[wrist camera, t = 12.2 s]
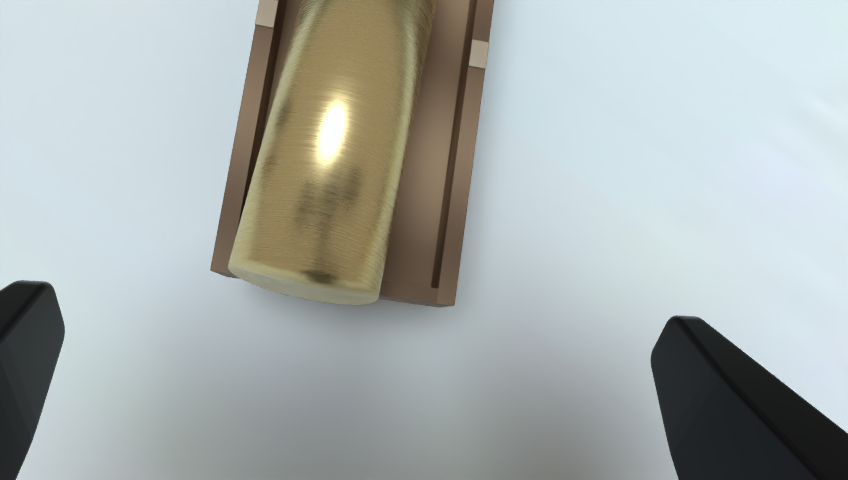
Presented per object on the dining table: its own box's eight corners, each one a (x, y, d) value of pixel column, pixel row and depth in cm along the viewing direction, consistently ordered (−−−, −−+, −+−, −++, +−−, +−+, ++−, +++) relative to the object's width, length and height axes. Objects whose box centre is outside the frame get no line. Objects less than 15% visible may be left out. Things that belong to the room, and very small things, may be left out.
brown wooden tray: (438, 307, 20) (454, 305, 17) (226, 276, 19) (209, 270, 17) (493, -109, 22) (516, -169, 20) (304, -152, 21) (300, -221, 19)
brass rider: (380, 6, 21) (311, 305, 18) (294, -69, 18) (197, 264, 15) (469, -33, 18) (408, 304, 15) (386, -125, 16) (293, 255, 13)
